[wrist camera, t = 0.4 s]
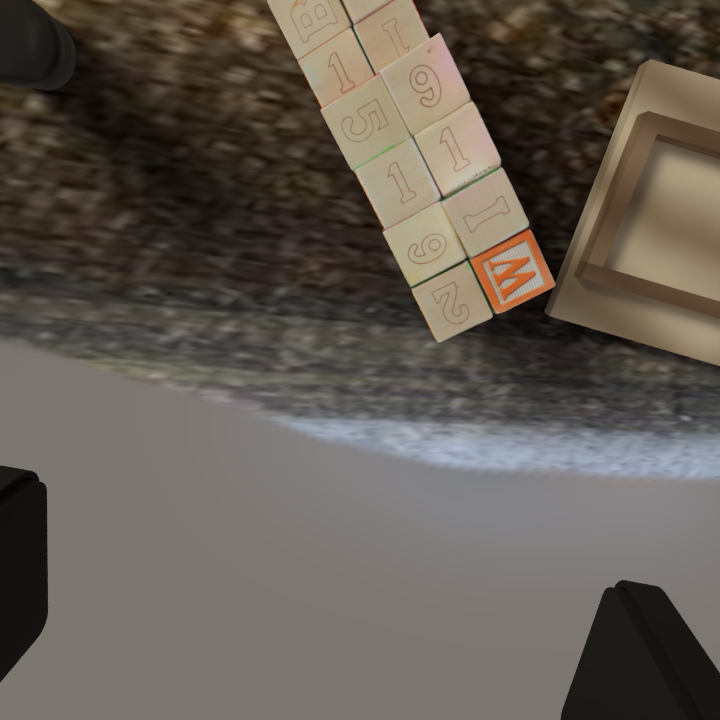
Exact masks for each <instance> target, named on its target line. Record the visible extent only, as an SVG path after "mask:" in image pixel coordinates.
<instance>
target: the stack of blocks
mask: <svg viewBox="0 0 720 720" xmlns="http://www.w3.org/2000/svg"><path fill="white" fill-rule="evenodd" d="M267 2H268V5H269V7H270V9H271V11H272V13H273V15H274V16H275V18H276V20H277V22H278V24H279V26H280V28H281V30H282V32H283V34H284V36H285V38H286V40H287V42H288V44H289V46H290V48H291V49H292V51H293V53H294V55H295V57H296V59H297V61H298V63H299V65H300V67H301V69H302V71H303V73H304V75H305V77H306V79H307V81H308V83H309V85H310V87H311V88H312V90H313V92H314V94H315V96H316V98H317V100H318V101H319V103H320V105H321V107H322V108H321V110H320V111H321V113H322V115H323V117H324V119H325V121H326V123H327V125H328V127H329V128H330V130H331V132H332V134H333V136H334V138H335V140H336V142H337V144H338V145H339V147H340V149H341V151H342V153H343V155H344V157H345V159H346V161H347V162H348V164H349V166H350V168H351V170H353V171H354V172H355V174H356V176H357V178H358V180H359V182H360V183H361V185H362V187H363V189H364V191H365V193H366V195H367V197H368V199H369V201H370V203H371V205H372V207H373V209H374V211H375V213H376V215H377V216H378V218H379V220H380V222H381V224H382V226H383V228H384V229H383V234H384V236H385V238H386V240H387V242H388V244H389V246H390V248H391V250H392V252H393V254H394V256H395V258H396V260H397V262H398V264H399V266H400V268H401V270H402V272H403V274H404V276H405V278H406V280H407V282H408V284H409V285H410V286H411V290H412V293H413V295H414V297H415V299H416V301H417V303H418V305H419V307H420V309H421V311H422V313H423V315H424V317H425V319H426V321H427V323H428V325H429V327H430V329H431V331H432V333H433V335H434V337H435V339H436V341H437V342H438V343H440V342H442V341H444V340H446V339H448V338H450V337H452V336H455V335H457V334H459V333H461V332H463V331H465V330H467V329H469V328H472V327H474V326H476V325H478V324H480V323H482V322H485V321H487V320H489V319H491V318H492V317H493V314H499V313H502V312H505V311H507V310H509V309H511V308H513V307H515V306H517V305H519V304H521V303H523V302H525V301H527V300H529V299H531V298H533V297H535V296H537V295H539V294H541V293H544V292H546V291H548V290H550V289H551V288H553V287H555V285H556V284H555V282H554V280H553V277H552V275H551V273H550V271H549V268H548V266H547V264H546V262H545V260H544V258H543V255H542V253H541V251H540V249H539V247H538V244H537V242H536V240H535V238H534V235H533V233H532V231H531V230H530V229H529V221H528V219H527V217H526V215H525V212H524V210H523V208H522V206H521V204H520V202H519V200H518V198H517V196H516V194H515V191H514V189H513V187H512V185H511V183H510V181H509V179H508V177H507V175H506V173H505V171H504V169H503V168H502V167H501V157H500V155H499V153H498V151H497V149H496V147H495V145H494V143H493V141H492V139H491V136H490V134H489V132H488V130H487V128H486V126H485V124H484V122H483V119H482V117H481V115H480V113H479V111H478V109H477V107H476V105H475V104H474V102H473V101H472V100H471V98H470V94H469V92H468V89H467V87H466V85H465V83H464V81H463V79H462V77H461V75H460V73H459V71H458V68H457V66H456V64H455V62H454V60H453V58H452V56H451V54H450V51H449V49H448V47H447V45H446V43H445V41H444V39H443V36H442V35H441V33H440V32H439V33H438V34H436V35H435V36H433V37H432V38H430V37H429V34H428V32H427V30H426V28H425V25H424V23H423V21H422V19H421V17H420V14H419V12H418V10H417V8H416V5H415V3H414V1H413V0H267Z"/></svg>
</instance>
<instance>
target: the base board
mask: <svg viewBox="0 0 720 720" xmlns="http://www.w3.org/2000/svg"><path fill="white" fill-rule="evenodd" d="M555 284H556V285H555V287H553V290H552V293H551V295H550V298H549V300H548V303H547V305H546V308H545V311H544V312H545V313H546V314H547V315H549V316H551V317H554V318H558V319H561V320H564V321H568V322H571V323H575V324H578V325H581V326H585V327H588V328H592V329H595V330H598V331H602V332H605V333H609V334H612V335H615V336H619V337H622V338H626V339H629V340H633V341H636V342H639V343H643V344H646V345H650V346H653V347H656V348H660V349H663V350H667V351H670V352H673V353H677V354H680V355H684V356H687V357H690V358H694V359H697V360H701V361H704V362H708V363H711V364H714V365H718V366H720V80H719V79H715V78H712V77H708V76H705V75H702V74H698V73H695V72H692V71H688V70H685V69H682V68H678V67H675V66H671V65H668V64H665V63H661V62H658V61H655V60H651V59H650V60H648V61H647V62H645V63H643V64H642V65H640V66H639V68H638V71H637V73H636V76H635V78H634V81H633V84H632V86H631V89H630V91H629V94H628V96H627V99H626V102H625V104H624V107H623V109H622V112H621V115H620V117H619V120H618V122H617V125H616V127H615V130H614V133H613V135H612V138H611V140H610V143H609V145H608V148H607V151H606V153H605V156H604V158H603V161H602V164H601V166H600V169H599V171H598V174H597V176H596V179H595V182H594V184H593V187H592V189H591V192H590V195H589V197H588V200H587V202H586V205H585V207H584V210H583V213H582V215H581V218H580V220H579V223H578V225H577V228H576V231H575V233H574V236H573V238H572V241H571V244H570V246H569V249H568V251H567V254H566V256H565V259H564V262H563V264H562V267H561V269H560V272H559V274H558V277H557V280H556V282H555Z"/></svg>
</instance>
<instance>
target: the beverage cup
mask: <svg viewBox="0 0 720 720" xmlns="http://www.w3.org/2000/svg"><path fill="white" fill-rule="evenodd" d="M75 66H76V48H75V45H74V42H73V39H72V37H71V35H70V34H69V32H68V31H67V29H66V28H65V27H64V26H63V25H62V24H61V23H60V22H59V21H58V20H56V19H55V18H53V17H52V16H51V15H50V14H49V13H48V12H46V11H45V10H44V9H43V8H42V7H41V6H39V5H38V4H36V3H35V2H34V1H32V0H0V83H3V84H8V85H13V86H19V87H24V88H33V89H41V90H54V89H58V88H61V87H62V86H63V85H65V84H66V83H67V82H68V81H69V80H70V78H71V77H72V75H73V74H74V70H75Z"/></svg>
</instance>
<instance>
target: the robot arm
mask: <svg viewBox="0 0 720 720" xmlns="http://www.w3.org/2000/svg"><path fill="white" fill-rule="evenodd" d="M47 579H48V567H47V489H46V486H45V484H44V483H42V482H39V477H38V476H37V474H36V473H35V472H33V471H28V470H23V469H17V468H12V467H7V466H0V682H1V681H2V680H3V679H4V677H5V676H6V675H7V674H8V672H9V671H10V670H11V669H12V668H13V667H14V665H15V664H16V663H17V662H18V661H19V659H20V658H21V657H22V656H23V655H24V654H25V652H26V651H27V650H28V649H29V647H30V646H31V645H32V644H33V643H34V642H35V640H36V639H37V638H38V636H39V635H40V633H41V632H42V630H43V628H44V626H45V623H46V619H47V614H48V580H47ZM561 720H720V673H719V671H718V670H717V668H716V667H715V665H714V664H713V662H712V661H711V659H710V658H709V657H708V655H707V654H706V652H705V651H704V649H703V648H702V646H701V645H700V644H699V642H698V640H697V639H696V638H695V636H694V635H693V633H692V632H691V630H690V629H689V627H688V626H687V624H686V623H685V621H684V620H683V618H682V617H681V616H680V614H679V613H678V611H677V610H676V608H675V607H674V605H673V604H672V602H671V601H670V599H669V598H668V596H667V595H666V593H665V592H664V591H663V590H662V589H661V588H659V587H657V586H653V585H648V584H642V583H636V582H631V581H626V580H621V581H619V582H618V583H617V584H616V585H615V587H614V588H612V587H609V588H607V589H606V590H605V591H604V593H603V595H602V598H601V601H600V604H599V607H598V610H597V613H596V616H595V618H594V621H593V624H592V627H591V630H590V632H589V635H588V638H587V641H586V644H585V647H584V650H583V653H582V655H581V658H580V661H579V664H578V667H577V670H576V672H575V675H574V678H573V681H572V684H571V687H570V690H569V692H568V695H567V698H566V701H565V704H564V707H563V710H562V714H561Z"/></svg>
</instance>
